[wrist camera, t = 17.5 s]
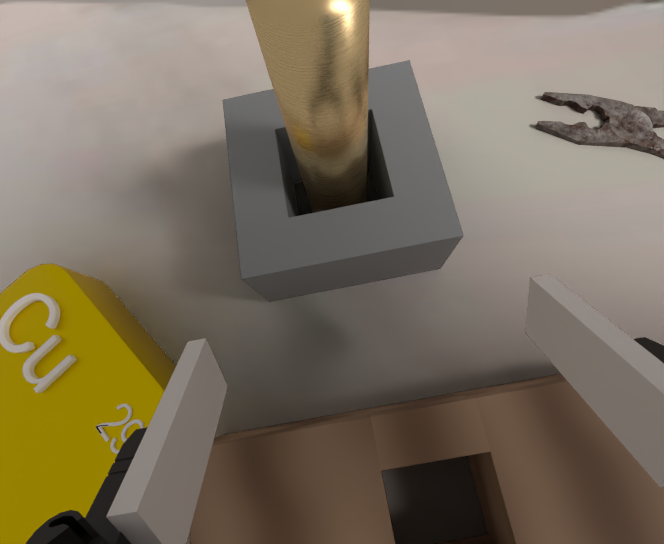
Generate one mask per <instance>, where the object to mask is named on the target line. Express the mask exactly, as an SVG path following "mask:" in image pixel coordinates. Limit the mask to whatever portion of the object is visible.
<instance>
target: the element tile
mask: <svg viewBox="0 0 664 544" xmlns="http://www.w3.org/2000/svg"><path fill="white" fill-rule="evenodd" d="M175 368H176V366H175V365H174V364H173V362H172V361H171V360H170V359H169V358H168V357H167V355H166V354H165V353H164V352H163V351H162V350H161V348H160V347H159V346H158V345H157V344H156V343H155V341H154V340H153V339H152V338H151V337H150V335H149V334H148V333H147V332H146V331H145V330H144V328H143V327H142V326H141V325H140V324H139V323H138V321H137V320H136V319H135V318H134V317H133V316H132V314H131V313H130V312H129V311H128V310H127V308H126V307H125V306H124V305H123V304H122V303H121V301H120V300H119V299H118V298H117V297H116V296H115V294H114V293H113V292H112V291H111V290H110V289H109V287H108V286H106V285H105V284H104V283H103V282H102V281H99V280H97V279H94V278H91V277H89V276H86V275H83V274H80V273H78V272H75V271H72V270H69V269H67V268H64V267H61V266H59V265H56V264H41V265H38V266H36V267H33V268H31V269H29V270H28V271H26V272H24V273H23V274H22V275H21V276H20V277H19V278H18V279H16V280H15V281H14V282H13V283H12V284H11V285H10V286H8V287H7V288H6V289H5V290H4V291H3V292H1V293H0V544H26V542H27V541H28V539H29V538H30V537H31V536H32V535H33V533H34V532H35V531H36V530H37V529H38V528H39V527H40V526H41V525H43V524H44V523H45V522H46V521H47V520H48V519H50V518H52V517H54V516H55V515H57V514H59V513H61V512H65V511H68V510H74V511H78V512H79V513H80V514H81V515H82V516H83V517H84V518H85V517H86V515H87V513H88V511H89V509H90V507H91V505H92V503H93V501H94V499H95V497H96V495H97V493H98V492H99V490H100V488H101V486H102V484H103V482H104V480H105V478H106V477H107V476H108V472H109V470H110V468H111V466H112V464H113V463H115V458H116V456H117V455H118V453H119V451H120V449H121V447H122V445H123V443H124V442H125V441H126V440H127V439H128V438H129V437H130V435H131V434H132V433H133V432H134V431H135V430H136V429H141V428H146V427H148V426H149V424H150V421H151V419H152V417H153V415H154V413H155V411H156V409H157V406H158V404H159V402H160V400H161V398H162V396H163V394H164V391H165V389H166V387H167V385H168V383H169V381H170V379H171V376H172V374H173V372H174V370H175Z"/></svg>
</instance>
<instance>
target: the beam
mask: <svg viewBox="0 0 664 544" xmlns="http://www.w3.org/2000/svg"><path fill="white" fill-rule="evenodd" d="M462 456H468V459H469V462H470V466H471V470H472V474H473V478H474V482H475V486H476V489H477V493H478V497H479V501H480V505H481V509H482V512H483V516H484V520H485V524H486V528H487V532H488V535H484V536H478V537H472V538H466V539H460V540H454V541H448V542H442V543H436V544H664V486H663V487H659V485H658V484H657V483H656V482H655V481H654V480H653V479H652V477H651V476H650V475H649V474H648V473H647V472H646V471H645V469H644V468H643V467H642V466H641V465H640V464H639V462H638V461H637V460H636V459H635V458H634V457H633V456H632V454H631V453H630V452H629V451H628V450H627V449H626V448H625V446H624V445H623V444H622V443H621V442H620V441H619V440H618V438H617V437H616V436H615V435H614V434H613V433H612V431H611V430H610V429H609V428H608V427H607V426H606V425H605V423H604V422H603V421H602V420H601V419H600V418H599V417H598V415H597V414H596V413H595V412H594V411H593V410H592V409H591V407H590V406H589V405H588V404H587V403H586V402H585V400H584V399H583V398H582V397H581V396H580V395H579V394H578V392H577V391H576V390H575V389H574V388H573V387H572V386H571V384H570V383H569V382H568V381H567V380H566V379H565V378H564V376H563V375H562V374H557V375H551V376H546V377H540V378H535V379H529V380H524V381H518V382H512V383H507V384H501V385H496V386H490V387H485V388H479V389H474V390H468V391H463V392H457V393H452V394H446V395H441V396H435V397H430V398H424V399H419V400H413V401H408V402H402V403H397V404H391V405H385V406H380V407H374V408H369V409H363V410H358V411H352V412H347V413H341V414H336V415H330V416H325V417H319V418H314V419H308V420H303V421H297V422H292V423H286V424H281V425H275V426H270V427H264V428H258V429H253V430H247V431H242V432H236V433H231V434H225V435H222V436H219V437H217V438H215V439H214V441H213V444H212V448H211V452H210V456H209V459H208V463H207V467H206V471H205V475H204V478H203V482H202V486H201V490H200V493H199V497H198V501H197V505H196V508H195V512H194V516H193V520H192V524H191V527H190V540H191V544H395V539H394V534H393V529H392V523H391V518H390V513H389V508H388V503H387V498H386V492H385V487H384V482H383V477H382V472H381V471H382V470H388V469H394V468H399V467H405V466H411V465H417V464H422V463H428V462H434V461H439V460H445V459H451V458H456V457H462Z"/></svg>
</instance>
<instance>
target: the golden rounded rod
mask: <svg viewBox="0 0 664 544" xmlns="http://www.w3.org/2000/svg"><path fill="white" fill-rule="evenodd" d="M246 3H247V6H248V9H249V12H250V16H251V19H252V22H253V25H254V28H255V31H256V35H257V38H258V41H259V44H260V47H261V51H262V54H263V57H264V60H265V63H266V67H267V70H268V73H269V76H270V79H271V82H272V86H273V89H274V92H275V95H276V98H277V102H278V105H279V108H280V111H281V114H282V118H283V121H284V124H285V127H286V130H287V133H288V137H289V140H290V143H291V146H292V149H293V153H294V156H295V159H296V162H297V165H298V169H299V172H300V175H301V178H302V181H303V184H304V188H305V191H306V194H307V197H308V200H309V204H310V207H311V210H312V213H315V212H320V211H325V210H330V209H335V208H340V207H345V206H350V205H355V204H360V203H365V202H367V138H368V72H369V5H370V0H246Z"/></svg>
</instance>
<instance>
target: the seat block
mask: <svg viewBox="0 0 664 544" xmlns="http://www.w3.org/2000/svg"><path fill="white" fill-rule="evenodd" d="M223 109H224V118H225V128H226V137H227V147H228V156H229V166H230V175H231V185H232V195H233V204H234V214H235V223H236V233H237V242H238V252H239V261H240V271H241V279H242V280H243V281H245V282H246V283H247V284H248V285H250V286H251V287H252V288H253V289H255V290H256V291H257V292H258V293H260V294H261V295H262V296H263V297H265V298H266V299H267V300H268V301H275V300H280V299H285V298H290V297H295V296H301V295H306V294H311V293H316V292H321V291H327V290H332V289H337V288H342V287H347V286H353V285H358V284H363V283H368V282H373V281H379V280H384V279H389V278H394V277H399V276H405V275H410V274H415V273H420V272H425V271H430V270H436V269H440V268H441V267H442V265H443V264H444V263H445V261H446V260H447V258H448V257H449V255H450V254H451V253H452V251H453V250H454V248H455V247H456V245H457V244H458V243H459V241H460V240H461V238H462V237H463V232H462V229H461V226H460V223H459V219H458V216H457V213H456V210H455V206H454V203H453V200H452V197H451V193H450V190H449V187H448V184H447V180H446V177H445V174H444V171H443V167H442V164H441V161H440V158H439V154H438V151H437V148H436V145H435V141H434V138H433V135H432V132H431V128H430V125H429V122H428V119H427V116H426V112H425V109H424V106H423V103H422V99H421V96H420V93H419V90H418V86H417V83H416V80H415V77H414V73H413V70H412V67H411V64H410V60H408V61H404V62H399V63H394V64H390V65H385V66H380V67H375V68H371V69H369V72H368V138H367V166H371V170H372V174H373V179H374V183H375V187H376V191H377V195H378V199H379V200H375V201H370V202H365V203H360V204H355V205H350V206H345V207H340V208H335V209H330V210H325V211H320V212H315V213H310V214H305V215H300V216H299V212H298V206H297V200H296V194H295V188H294V182H293V181H296V180H301V179H302V178H301V175H300V172H299V169H298V165H297V162H296V159H295V156H294V153H293V149H292V146H291V143H290V140H289V137H288V133H287V130H286V127H285V124H284V121H283V118H282V114H281V111H280V108H279V105H278V102H277V98H276V95H275V92H274V89H272V90H267V91H262V92H258V93H253V94H248V95H243V96H239V97H234V98H229V99H225V100H223Z"/></svg>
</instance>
